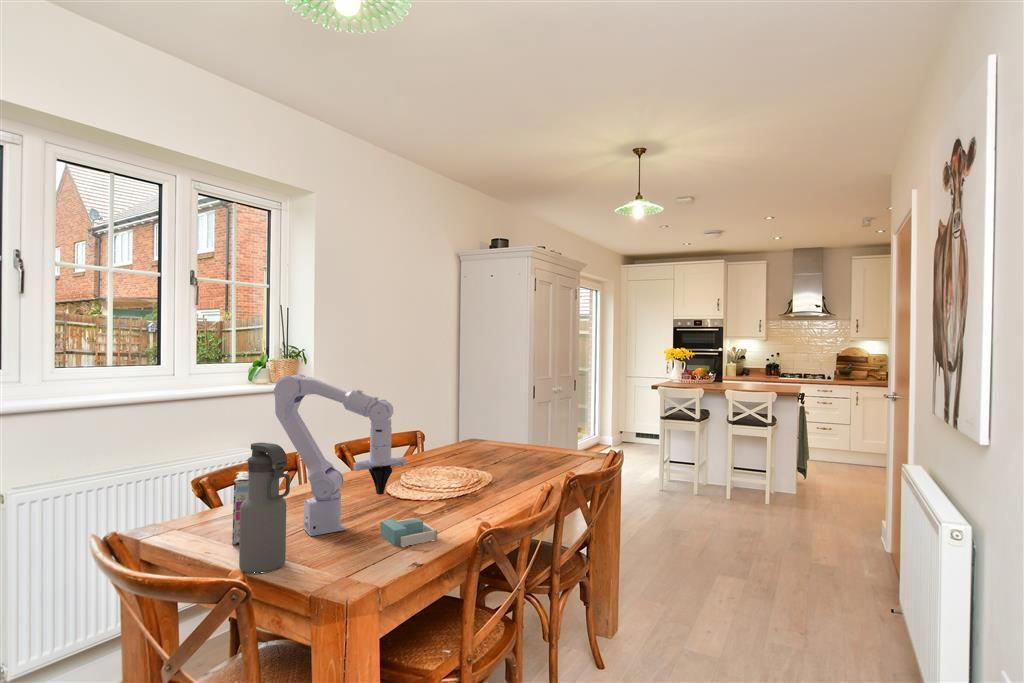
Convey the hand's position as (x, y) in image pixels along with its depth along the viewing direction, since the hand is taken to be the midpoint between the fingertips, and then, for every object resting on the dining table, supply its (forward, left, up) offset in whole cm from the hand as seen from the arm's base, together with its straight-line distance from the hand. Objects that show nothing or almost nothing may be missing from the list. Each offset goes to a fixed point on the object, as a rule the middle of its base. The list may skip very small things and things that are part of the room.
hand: (380, 493), depth 157 cm
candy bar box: (-32, +13, -10) cm, 36 cm away
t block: (+3, -9, -10) cm, 14 cm away
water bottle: (-32, -10, -10) cm, 35 cm away
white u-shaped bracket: (+4, -10, -10) cm, 14 cm away
